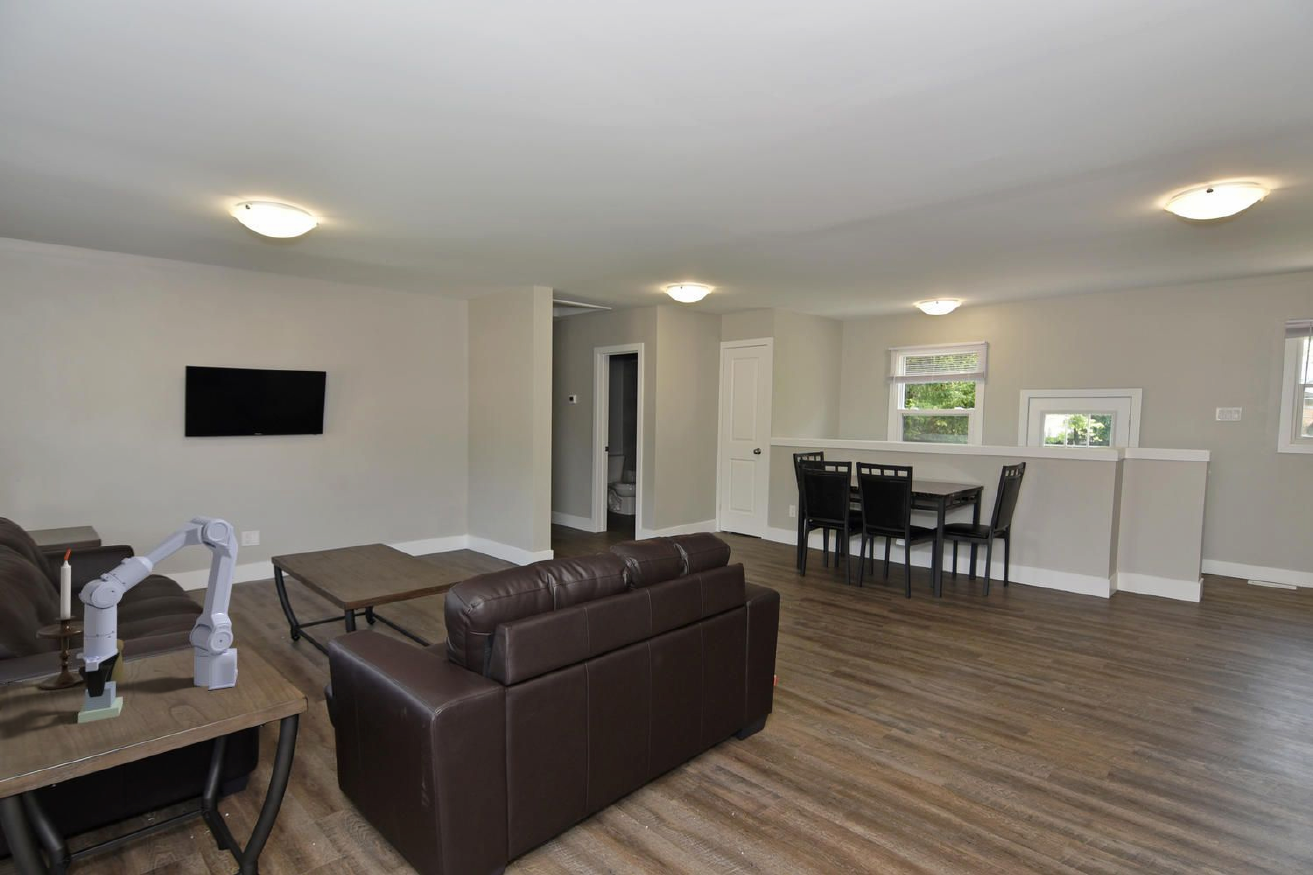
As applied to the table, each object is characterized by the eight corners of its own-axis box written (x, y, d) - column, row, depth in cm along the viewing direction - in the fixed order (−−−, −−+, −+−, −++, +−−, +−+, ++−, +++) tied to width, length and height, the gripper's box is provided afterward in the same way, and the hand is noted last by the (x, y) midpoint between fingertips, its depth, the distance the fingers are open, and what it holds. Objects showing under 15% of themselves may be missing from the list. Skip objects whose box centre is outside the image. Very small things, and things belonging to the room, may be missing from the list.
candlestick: (98, 672, 174) (99, 543, 174) (84, 687, 165) (86, 551, 164) (45, 678, 170) (46, 546, 169) (28, 694, 160) (29, 554, 159)
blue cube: (115, 699, 151) (115, 680, 151) (110, 707, 147) (110, 688, 147) (90, 703, 149) (90, 684, 149) (84, 711, 145) (85, 691, 145)
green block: (122, 704, 153) (122, 696, 153) (118, 716, 148) (118, 707, 148) (83, 711, 149) (83, 702, 149) (78, 723, 144) (78, 714, 144)
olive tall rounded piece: (129, 680, 170) (129, 639, 169) (100, 688, 164) (100, 645, 164) (120, 675, 173) (120, 634, 173) (91, 682, 168) (91, 640, 167)
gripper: (86, 625, 152) (86, 682, 152) (67, 645, 140) (66, 707, 140) (124, 622, 156) (124, 677, 156) (109, 640, 143) (108, 701, 143)
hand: (99, 691), depth 148 cm, fingers open, 5 cm apart
